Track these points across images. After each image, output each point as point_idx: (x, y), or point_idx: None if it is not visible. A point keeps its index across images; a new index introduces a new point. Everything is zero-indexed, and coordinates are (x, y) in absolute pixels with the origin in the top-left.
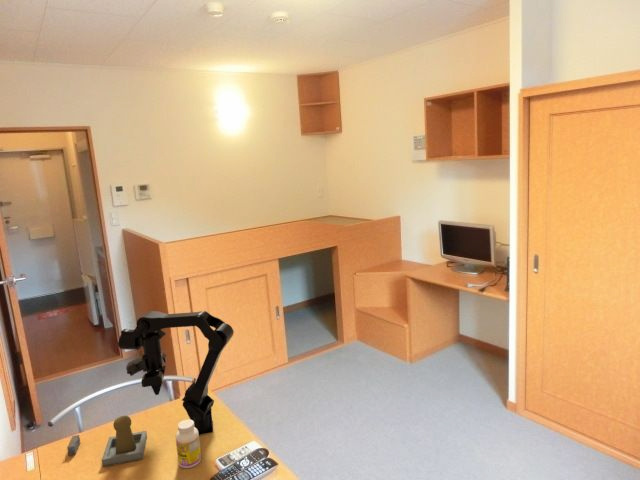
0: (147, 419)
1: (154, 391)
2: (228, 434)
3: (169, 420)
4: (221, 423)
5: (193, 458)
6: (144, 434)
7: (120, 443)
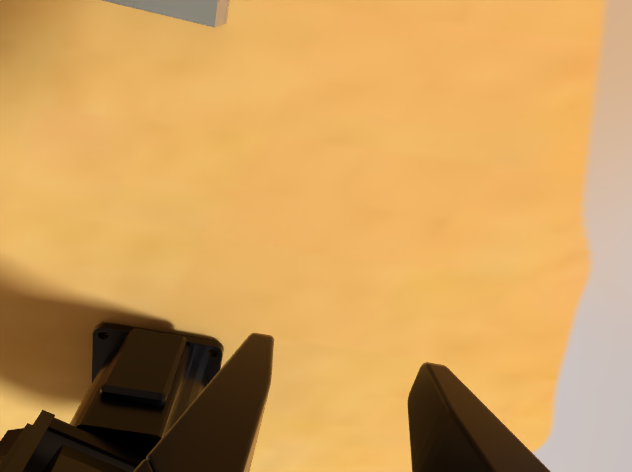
0: (511, 60)
1: (209, 389)
2: None
3: (378, 217)
4: None
5: None
6: (150, 2)
7: None
